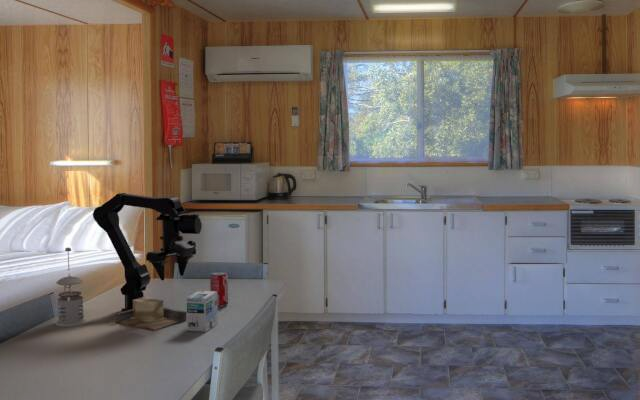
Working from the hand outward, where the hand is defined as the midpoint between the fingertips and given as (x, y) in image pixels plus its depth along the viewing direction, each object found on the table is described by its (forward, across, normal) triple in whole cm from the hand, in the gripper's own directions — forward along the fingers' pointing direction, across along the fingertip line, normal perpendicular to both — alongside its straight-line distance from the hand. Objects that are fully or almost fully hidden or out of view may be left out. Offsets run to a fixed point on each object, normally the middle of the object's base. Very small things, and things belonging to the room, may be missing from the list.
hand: (172, 277), depth 236 cm
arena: (+12, -13, -3) cm, 18 cm away
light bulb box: (+12, -9, -22) cm, 27 cm away
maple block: (+11, -12, -1) cm, 16 cm away
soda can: (+12, +15, -8) cm, 21 cm away
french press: (+12, -27, +20) cm, 36 cm away
